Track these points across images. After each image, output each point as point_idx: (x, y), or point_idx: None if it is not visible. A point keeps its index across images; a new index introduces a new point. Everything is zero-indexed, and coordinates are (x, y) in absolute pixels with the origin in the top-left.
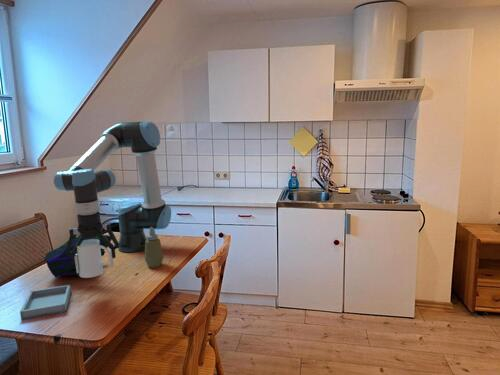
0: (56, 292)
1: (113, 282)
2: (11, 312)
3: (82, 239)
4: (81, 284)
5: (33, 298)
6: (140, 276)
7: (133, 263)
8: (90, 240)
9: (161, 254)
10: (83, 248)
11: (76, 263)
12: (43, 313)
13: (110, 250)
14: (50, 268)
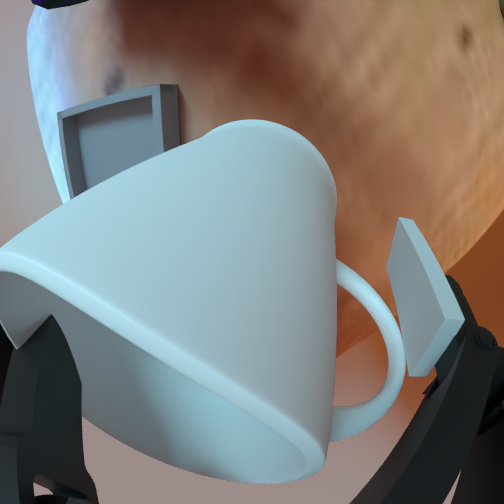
0: (127, 101)
1: (365, 58)
2: (64, 183)
3: (86, 489)
4: (212, 21)
5: (78, 126)
6: (478, 75)
7: None
8: (76, 280)
9: None
10: (142, 434)
11: None
12: None
13: (429, 361)
14: (63, 4)
